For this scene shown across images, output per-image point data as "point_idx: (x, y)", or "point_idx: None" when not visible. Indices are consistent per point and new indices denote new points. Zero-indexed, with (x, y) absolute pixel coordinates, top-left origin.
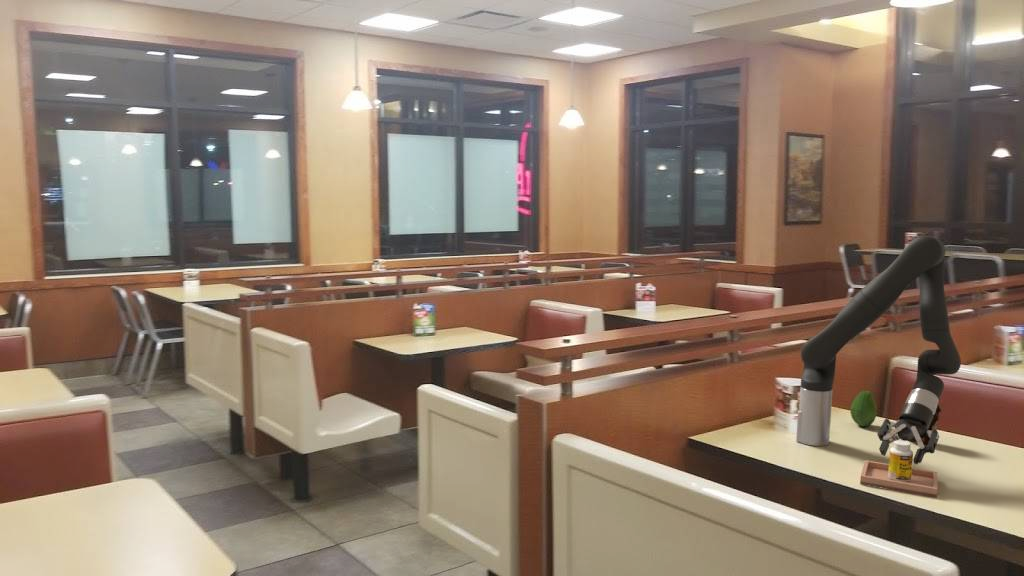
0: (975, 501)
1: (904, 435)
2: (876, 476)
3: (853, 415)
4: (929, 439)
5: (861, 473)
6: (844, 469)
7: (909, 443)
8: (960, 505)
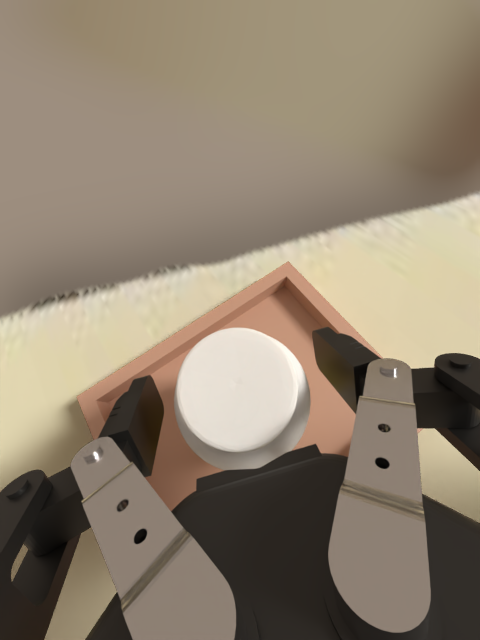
0: None
1: (280, 472)
2: (301, 352)
3: None
4: None
5: (305, 279)
6: (416, 332)
7: (192, 422)
8: (20, 414)
